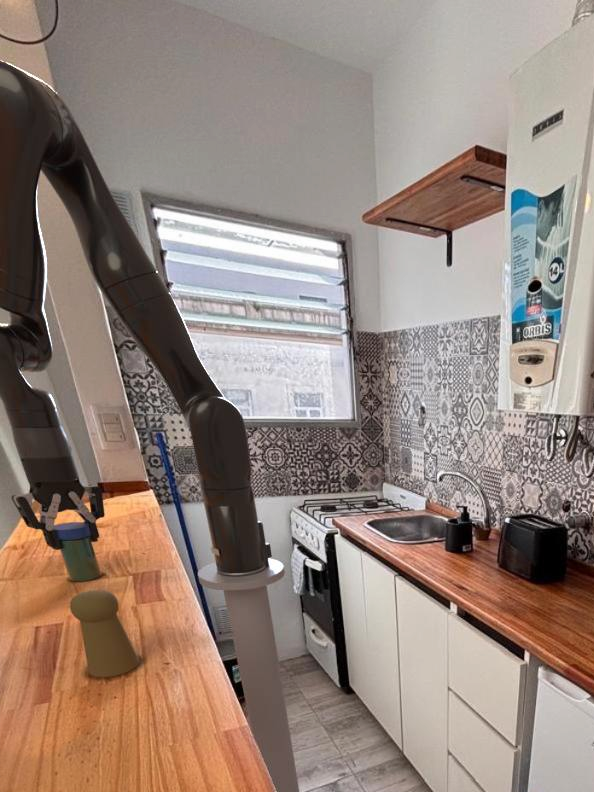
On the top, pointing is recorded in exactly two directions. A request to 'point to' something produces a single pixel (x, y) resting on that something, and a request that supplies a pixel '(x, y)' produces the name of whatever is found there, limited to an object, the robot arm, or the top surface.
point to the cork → (103, 634)
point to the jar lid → (72, 530)
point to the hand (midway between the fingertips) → (75, 544)
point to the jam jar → (80, 559)
